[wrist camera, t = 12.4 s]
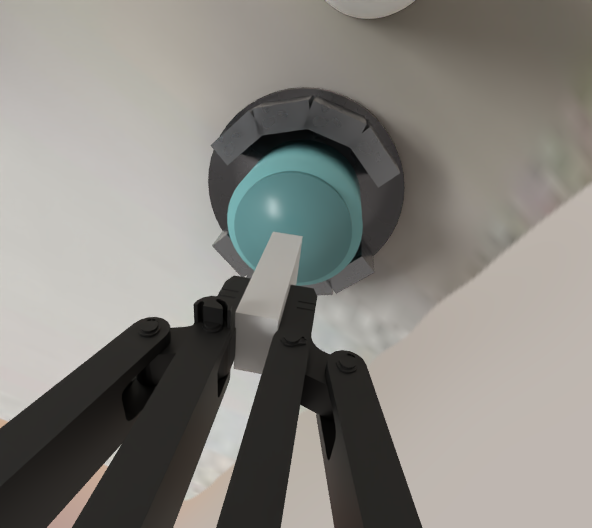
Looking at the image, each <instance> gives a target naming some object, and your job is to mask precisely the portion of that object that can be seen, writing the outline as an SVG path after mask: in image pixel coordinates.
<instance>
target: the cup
mask: <svg viewBox="0 0 592 528" xmlns="http://www.w3.org/2000/svg"><path fill="white" fill-rule="evenodd" d="M325 1H326V2H327V3H328V4H329V5H331V6H332V7H333V8H335V9H336V10H338V11H340V12H341V13H344V14H346V15H348V16H352V17H355V18H361V19H375V18H381V17H385V16H388V15H391V14H394V13H396V12H398V11H400V10H402V9H404V8H406V7H407V6H408V5H410V4H411V3H413V2H414V1H415V0H325Z"/></svg>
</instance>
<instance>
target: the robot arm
mask: <svg viewBox="0 0 592 528" xmlns="http://www.w3.org/2000/svg"><path fill="white" fill-rule="evenodd" d="M302 238H303V236H297V235H291V234H285V233H279V232H273V233H272V235H271V237H270V239H269V241H268V243H267V246H266V248H265V250H264V252H263V254H262V256H261V258H260V260H259V263H258V265H257V267H256V269H255V271H254V273H253V275H252V278H245V277H239V276H233V277H231V278H230V279H228V280H227V281H226V282H225V283H224V285H223V287H222V290H220V292H219V294H218V296H209V297H204V298H201V299H199V300H197V301H196V302H195V303H194V321H195V323H194V324H193V325H192V326H188V327H178V328H170V325H169V323H168V322H167V321H166V320H164V319H162V318H158V317H149V318H145V319H141V320H139V321H137V322H136V323H134V324H133V325H132V326H130V327H129V328H128V329H126V330H125V331H124V332H123V333H121V334H120V335H119V336H117V337H116V338H115V339H114V340H112V341H111V342H110V343H109V344H107V345H106V346H105V347H103V348H102V349H101V350H100V351H98V352H97V353H96V354H95V355H93V356H92V357H91V358H89V359H88V360H87V361H86V362H84V363H83V364H82V365H81V366H79V367H78V368H77V369H75V370H74V371H73V372H72V373H70V374H69V375H68V376H67V377H65V378H64V379H63V380H61V381H60V382H59V383H58V384H56V385H55V386H54V387H53V388H51V389H50V390H49V391H47V392H46V393H45V394H44V395H42V396H41V397H40V398H38V399H37V400H36V401H35V402H33V403H32V404H31V405H30V406H28V407H27V408H26V409H24V410H23V411H22V412H21V413H19V414H18V415H17V416H16V417H14V418H13V419H12V420H10V421H9V422H8V423H7V424H6V425H4V426H3V427H2V428H0V528H47V526H48V525H49V524H50V523H51V522H52V521H53V520H54V519H55V518H56V516H57V515H58V514H59V513H60V512H61V511H62V510H63V509H64V508H65V506H66V505H67V504H68V503H69V502H70V501H71V500H72V499H73V497H74V496H75V495H76V494H77V493H78V492H79V491H80V490H81V489H82V487H83V486H84V485H85V484H86V483H87V482H88V481H89V480H90V479H91V477H92V476H93V475H94V474H95V473H96V472H97V471H98V470H99V468H100V467H101V466H102V465H103V464H104V463H105V462H106V461H107V460H108V458H109V457H110V456H111V455H112V454H113V453H114V452H115V451H116V450H117V448H118V447H119V446H120V445H121V444H122V445H121V446H120V448H119V450H118V451H117V453H116V455H115V456H114V458H113V460H112V461H111V463H110V465H109V466H108V468H107V470H106V471H105V473H104V475H103V476H102V478H101V480H100V481H99V483H98V485H97V487H96V488H95V490H94V492H93V493H92V495H91V497H90V498H89V500H88V502H87V503H86V505H85V507H84V508H83V510H82V512H81V513H80V515H79V517H78V518H77V520H76V522H75V524H74V525H73V527H72V528H173V526H174V524H175V521H176V519H177V516H178V513H179V511H180V508H181V506H182V503H183V500H184V498H185V495H186V493H187V490H188V487H189V485H190V482H191V479H192V477H193V474H194V472H195V469H196V466H197V464H198V461H199V459H200V456H201V453H202V451H203V448H204V446H205V443H206V440H207V438H208V435H209V433H210V430H211V427H212V425H213V422H214V419H215V417H216V414H217V412H218V409H219V406H220V404H221V401H222V399H223V396H224V393H225V391H226V388H227V386H228V383H229V380H230V369H231V366H232V364H233V361H234V369H238V370H243V371H249V372H254V373H259V374H262V375H261V379H260V382H259V385H258V389H257V392H256V395H255V399H254V402H253V406H252V409H251V412H250V416H249V419H248V422H247V426H246V429H245V433H244V436H243V439H242V443H241V446H240V449H239V453H238V456H237V460H236V463H235V466H234V470H233V473H232V476H231V480H230V483H229V487H228V490H227V493H226V497H225V500H224V503H223V507H222V510H221V514H220V517H219V520H218V524H217V527H216V528H281V522H282V515H283V509H284V503H285V497H286V490H287V484H288V478H289V472H290V465H291V459H292V453H293V446H294V440H295V434H296V428H297V421H298V415H299V409H300V405H302V406H304V407H306V408H308V409H309V410H311V411H313V412H315V413H316V414H317V415H316V417H317V423H318V429H319V435H320V442H321V447H322V454H323V459H324V466H325V472H326V479H327V485H328V491H329V497H330V503H331V509H332V515H333V522H334V528H422V525H421V522H420V519H419V517H418V514H417V511H416V508H415V505H414V502H413V499H412V496H411V493H410V490H409V488H408V485H407V482H406V479H405V476H404V473H403V470H402V468H401V464H400V461H399V459H398V456H397V453H396V450H395V447H394V444H393V442H392V438H391V435H390V432H389V430H388V427H387V424H386V421H385V418H384V415H383V412H382V409H381V406H380V404H379V401H378V398H377V395H376V392H375V389H374V386H373V383H372V380H371V377H370V374H369V371H368V369H367V366H366V364H365V362H364V360H363V359H362V358H361V357H360V356H358V355H357V354H355V353H353V352H350V351H344V350H341V351H336V352H334V353H332V354H328V353H325V352H323V351H322V350H320V349H319V348H317V347H316V346H315V344H314V343H313V341H312V339H311V332H312V326H313V320H314V313H315V307H316V300H317V295H316V293H315V290H314V288H308V287H303V286H297V285H296V283H297V276H298V268H299V261H300V253H301V245H302Z"/></svg>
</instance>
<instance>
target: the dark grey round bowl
mask: <svg viewBox="0 0 592 528" xmlns="http://www.w3.org/2000/svg"><path fill="white" fill-rule="evenodd" d="M305 139H306V140H314V141H318V142H322V143H324V144H326V145H329V146H331V147H332V148H334V149H336V150H337V151H338V152H340V153H341V154H342V155H343V156H344V157H345V158H346V159H347V160H348V161H349V163H350V164H351V166H352V167H353V169H354V171H355V173H356V175H357V178H358V181H359V185H360V194H361V209H362V223H363V229H362V237H361V242H360V245H359V248H358V250H357V252H356V254H355V256H354V257H353V259H352V260H351V262H350V263H349V264H348V265H347V266H346V267H345V268H344V269H343V270H342V271H341V272H339V273H338V274H337V275H335V276H333V277H332V278H330V279H327V280H325V281H323V282H319V283H316V284H311V285H301V286H303V287H308V288H314V290H315V293H316V295H332V294H333V290H334V292H335V293H338V292H340V291H342V290H343V289H345V288H347V287H349V286H351V285H352V284H354V283H356V282H358V281H360V280H361V279H363V278H365V277H367V276H369V275H370V274H372V273H374V264H373V255H375V254H376V253H377V252H378V251H379V250H380V248H381V247H382V246H383V245H384V244H385V243H386V241H387V240H388V238H389V237H390V235H391V234H392V232H393V230H394V228H395V226H396V224H397V222H398V219H399V216H400V213H401V209H402V204H403V200H404V176H403V170H402V165H401V161H400V158H399V155H398V153H397V150H396V147H395V145H394V143H393V141H392V140H391V138H390V136H389V134H388V132H387V131H386V130H385V128H384V127H383V126H382V124H381V123H380V122H379V120H378V119H377V118H375V117H374V116H373V115H372V114H371V113H370V112H369V111H368V110H367V109H366V108H364V107H363V106H361V105H360V104H359V103H357V102H355V101H354V100H352V99H350V98H348V97H346V96H344V95H341V94H338V93H336V92H333V91H329V90H324V89H320V88H307V87H301V88H290V89H285V90H281V91H277V92H274V93H272V94H269V95H267V96H264V97H262V98H260V99H258V100H256V101H255V102H253V103H251V104H250V105H248V106H247V107H245V108H244V109H243V110H242V111H240V112H239V113H238V114H237V115H236V116H235V117H234V118H233V119H232V120H231V121H230V122H229V124H228V125H227V126H226V128H225V129H224V131H223V132H222V134H221V135H220V137H219V138H218V139H217V140H216V141H215V142H214V143H213V144H212V145H211V147H212V148H213V149H214V151H213V154H212V157H211V162H210V167H209V179H208V185H209V195H210V200H211V205H212V208H213V211H214V214H215V217H216V219H217V221H218V223H219V225H220V227H221V229H222V230H223V232H222V233H221V234H220V236H219V237H218V239H217V240H216V241H215V243H214V244H213V245H212V246H213V247H214V248H215V249H216V250H217V252H218V253H219V254H220V255H221V256H222V257H223V258H224V259H225V260H226V261H227V262H228V263H229V264H230V265H231V266H232V267H233V268H234V269H235V270H236V272H237V273H238V274H239V275H240V276H241V277H244V276H246V275H247V274H248V275H247V277H246V278H252V275H253V273H254V270H253V269H252V268H251V267H249V266H248V265H247V264H246V263H245V262H244V261H243V259H242V258H241V257H240V255H239V254H238V253H237V251H236V249H235V248H234V246H233V243H232V241H231V238H230V235H229V231H228V225H227V213H228V207H229V203H230V200H231V197H232V195H233V193H234V191H235V189H236V188H237V186H238V185H239V183H240V182H241V181H242V180H243V179H244V178H245V177H246V175H247V174H248V173H249V172H250V171H251V170H252V169H253V167H254V166H255V165H256V164H257V163H258V162H259V161H260V159H261V158H262V157H263V156H264V155H265V154H266V153H267V152H268V151H270V150H271V149H273V148H274V147H276V146H278V145H280V144H282V143H285V142H288V141H292V140H305ZM297 286H299V285H297Z"/></svg>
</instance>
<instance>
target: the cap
mask: <svg viewBox="0 0 592 528" xmlns="http://www.w3.org/2000/svg"><path fill="white" fill-rule="evenodd" d="M227 225H228V231H229V235H230V238H231V241H232V243H233V246H234V248H235V249H236V251H237V253H238V254H239V255H240V257H241V258H242V259H243V261H244V262H245V263H246V264H247V265H248V266H249V267H251V268H252V269H253V270H254V271H255V269H256V267H257V265H258V263H259V260H260V258H261V256H262V254H263V252H264V250H265V248H266V246H267V243H268V241H269V239H270V237H271V235H272V233H273V232H279V233H285V234H291V235H297V236H303V238H302V245H301V253H300V261H299V268H298V276H297V283H296V285H299V286H301V285H311V284H316V283H319V282H323V281H325V280H327V279H330V278H332V277H333V276H335V275H337V274H338V273H339V272H341V271H342V270H343V269H344V268H345V267H346V266H347V265H348V264H349V263H350V262H351V260H352V259H353V257H354V256H355V254H356V252H357V250H358V248H359V245H360V242H361V237H362V229H363V223H362V209H361V194H360V185H359V181H358V178H357V175H356V173H355V171H354V169H353V167H352V166H351V164H350V163H349V161H348V160H347V159H346V158H345V157H344V156H343V155H342V154H341V153H340V152H338V151H337V150H336V149H334V148H332V147H331V146H329V145H326V144H324V143H322V142H318V141H314V140H306V139H305V140H292V141H288V142H285V143H282V144H280V145H278V146H276V147H274V148H273V149H271V150H270V151H268V152H267V153H266V154H265V155H264V156H263V157H262V158H261V159H260V161H259V162H258V163H257V164H256V165H255V166H254V167H253V169H252V170H251V171H250V172H249V173H248V174H247V175H246V177H245V178H244V179H243V180H242V181H241V182H240V183H239V185H238V186H237V188H236V189H235V191H234V193H233V195H232V197H231V200H230V203H229V207H228V213H227Z"/></svg>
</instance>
